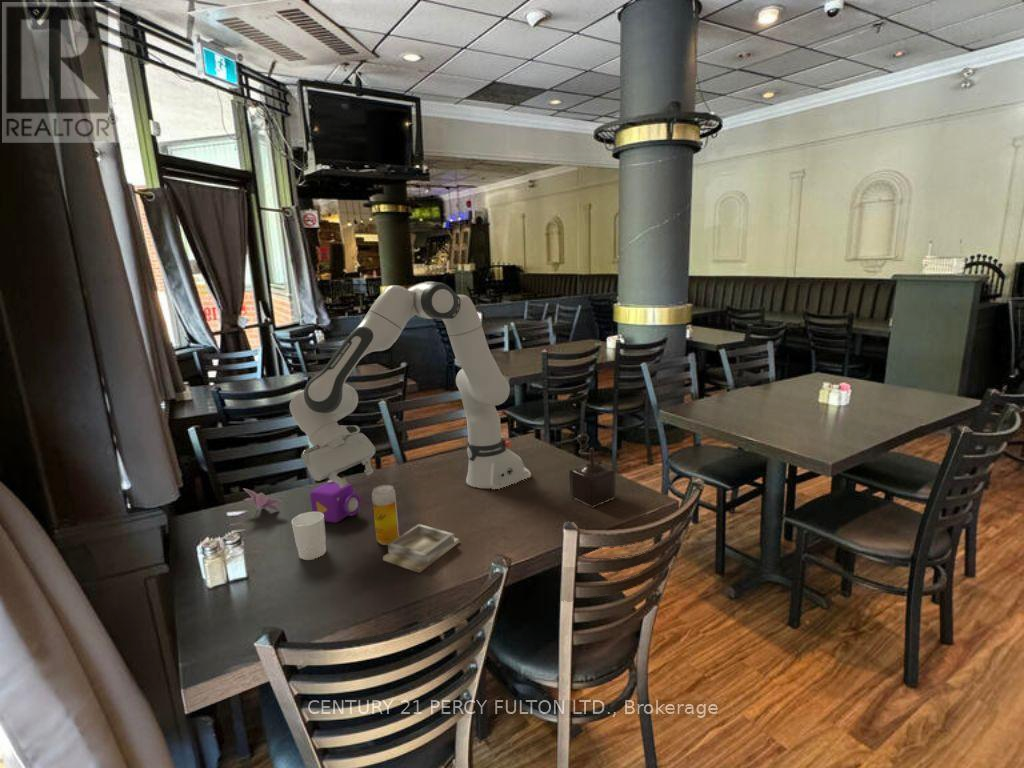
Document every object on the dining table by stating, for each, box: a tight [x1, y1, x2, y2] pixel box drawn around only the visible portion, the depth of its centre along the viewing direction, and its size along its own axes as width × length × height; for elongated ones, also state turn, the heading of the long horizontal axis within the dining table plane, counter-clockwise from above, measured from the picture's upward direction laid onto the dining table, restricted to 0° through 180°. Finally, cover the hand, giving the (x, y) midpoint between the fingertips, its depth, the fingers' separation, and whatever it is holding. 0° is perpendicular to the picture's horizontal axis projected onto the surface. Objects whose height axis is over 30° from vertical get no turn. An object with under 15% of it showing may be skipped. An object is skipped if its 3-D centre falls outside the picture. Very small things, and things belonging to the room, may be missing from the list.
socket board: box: [382, 523, 460, 574], centre depth 136 cm, size 12×16×4 cm
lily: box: [242, 487, 284, 523], centre depth 159 cm, size 12×12×10 cm
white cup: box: [291, 511, 327, 561], centre depth 136 cm, size 8×8×10 cm
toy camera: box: [309, 479, 361, 524], centre depth 156 cm, size 11×14×10 cm
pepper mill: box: [568, 433, 617, 506], centre depth 163 cm, size 16×11×18 cm
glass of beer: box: [371, 484, 400, 546], centre depth 141 cm, size 6×6×15 cm
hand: (358, 479), depth 144 cm, fingers open, 8 cm apart
